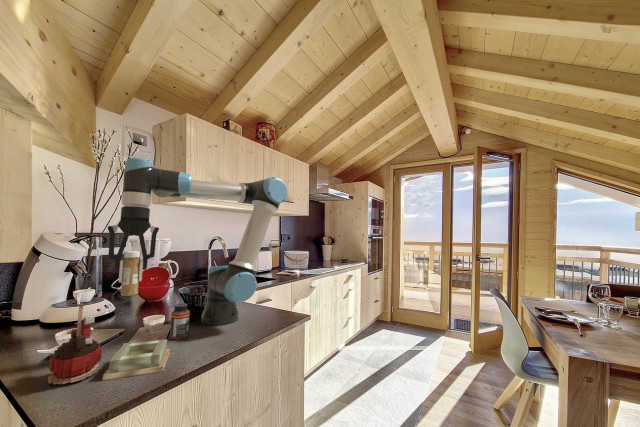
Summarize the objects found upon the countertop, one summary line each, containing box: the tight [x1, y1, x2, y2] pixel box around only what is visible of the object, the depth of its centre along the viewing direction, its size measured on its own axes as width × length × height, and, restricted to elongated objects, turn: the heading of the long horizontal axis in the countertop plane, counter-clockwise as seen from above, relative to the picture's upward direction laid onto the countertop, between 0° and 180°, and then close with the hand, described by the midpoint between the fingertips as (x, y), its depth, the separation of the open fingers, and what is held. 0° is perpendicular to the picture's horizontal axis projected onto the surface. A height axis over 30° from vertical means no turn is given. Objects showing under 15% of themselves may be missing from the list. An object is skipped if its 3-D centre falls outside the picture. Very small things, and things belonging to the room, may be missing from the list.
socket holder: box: [102, 339, 171, 381], centre depth 73 cm, size 13×12×4 cm
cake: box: [47, 303, 103, 385], centre depth 67 cm, size 11×9×18 cm
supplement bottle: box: [169, 302, 191, 341], centre depth 94 cm, size 6×6×11 cm
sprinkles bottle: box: [120, 250, 142, 297], centre depth 82 cm, size 5×5×14 cm
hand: (130, 280), depth 82 cm, fingers closed on sprinkles bottle, 4 cm apart
